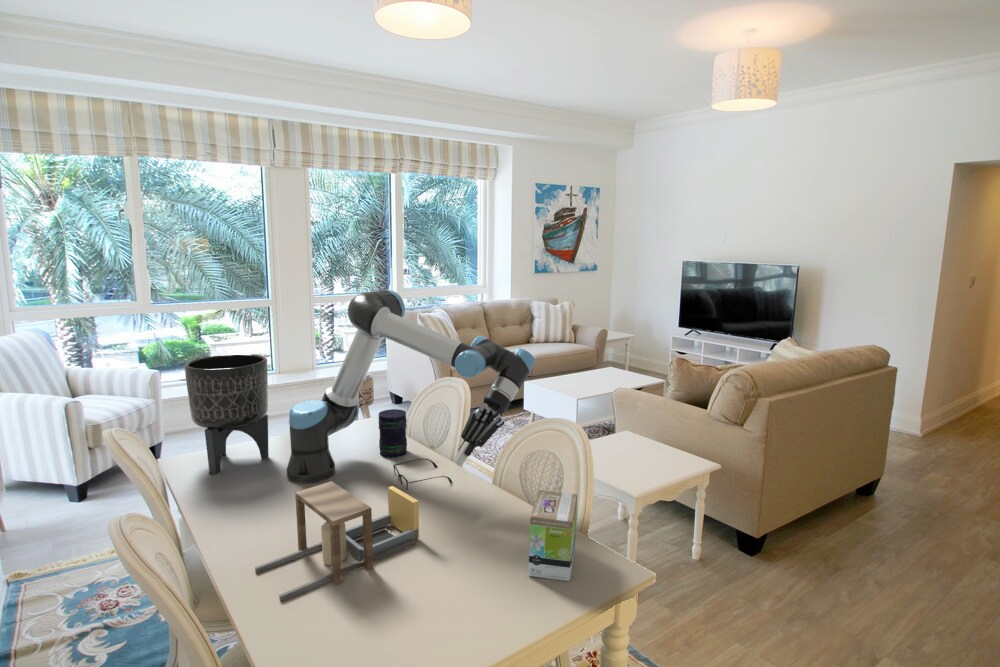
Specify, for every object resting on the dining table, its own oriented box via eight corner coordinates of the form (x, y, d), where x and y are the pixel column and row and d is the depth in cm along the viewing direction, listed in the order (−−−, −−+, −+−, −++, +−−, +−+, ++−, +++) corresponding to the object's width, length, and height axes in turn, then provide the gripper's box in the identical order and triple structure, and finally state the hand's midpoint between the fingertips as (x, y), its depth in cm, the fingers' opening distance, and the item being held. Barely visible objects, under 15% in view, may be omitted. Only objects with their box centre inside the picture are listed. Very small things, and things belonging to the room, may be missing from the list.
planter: (180, 463, 195) (171, 361, 189) (251, 443, 213) (245, 351, 208) (212, 483, 179) (204, 373, 173) (286, 460, 198) (281, 360, 192)
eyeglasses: (391, 474, 187) (390, 462, 186) (436, 466, 194) (436, 455, 193) (406, 494, 173) (406, 481, 172) (454, 484, 180) (454, 472, 179)
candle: (339, 550, 140) (337, 512, 139) (351, 559, 136) (349, 520, 135) (318, 559, 136) (316, 520, 135) (329, 568, 132) (328, 528, 131)
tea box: (571, 582, 128) (573, 521, 125) (527, 577, 130) (528, 516, 127) (576, 547, 142) (577, 492, 140) (536, 543, 144) (537, 488, 142)
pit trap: (346, 543, 143) (345, 542, 143) (385, 528, 151) (385, 527, 151) (365, 558, 136) (365, 558, 136) (406, 542, 144) (406, 541, 144)
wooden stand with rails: (251, 567, 133) (247, 506, 130) (379, 520, 155) (377, 467, 153) (285, 606, 118) (281, 539, 116) (420, 548, 141) (419, 490, 139)
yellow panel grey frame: (338, 541, 143) (336, 504, 142) (393, 520, 154) (392, 486, 153) (362, 561, 135) (360, 521, 133) (419, 537, 145) (418, 500, 144)
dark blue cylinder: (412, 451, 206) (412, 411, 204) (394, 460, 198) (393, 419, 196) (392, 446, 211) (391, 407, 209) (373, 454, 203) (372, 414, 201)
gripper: (522, 407, 165) (479, 477, 157) (492, 398, 175) (450, 463, 166) (509, 392, 161) (464, 463, 152) (479, 384, 170) (435, 450, 162)
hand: (456, 463), depth 159 cm, fingers closed
